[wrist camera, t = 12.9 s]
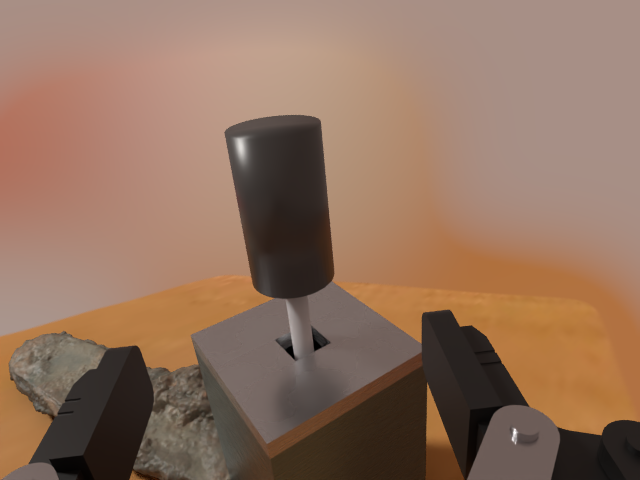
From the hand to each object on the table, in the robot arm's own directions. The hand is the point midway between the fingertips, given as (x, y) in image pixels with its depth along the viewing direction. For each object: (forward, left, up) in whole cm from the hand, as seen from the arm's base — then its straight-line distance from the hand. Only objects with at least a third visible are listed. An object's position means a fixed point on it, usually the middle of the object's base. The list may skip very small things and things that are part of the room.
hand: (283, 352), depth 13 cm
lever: (-10, +5, -22) cm, 24 cm away
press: (-10, +5, -25) cm, 27 cm away
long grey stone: (-30, -4, -25) cm, 40 cm away
